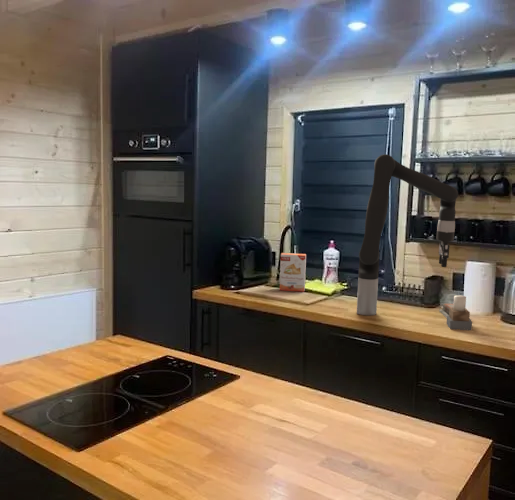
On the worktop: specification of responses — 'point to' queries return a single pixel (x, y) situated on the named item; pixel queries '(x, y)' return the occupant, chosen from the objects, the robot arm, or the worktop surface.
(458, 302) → the cream cylinder
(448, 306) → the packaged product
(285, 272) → the cracker box
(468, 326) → the charcoal base block
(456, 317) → the walnut block
